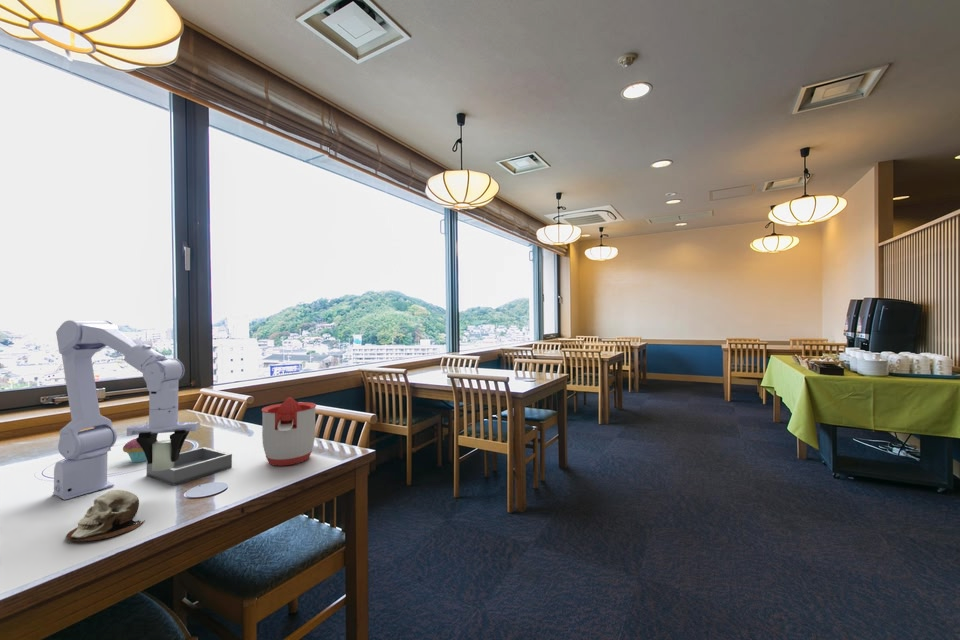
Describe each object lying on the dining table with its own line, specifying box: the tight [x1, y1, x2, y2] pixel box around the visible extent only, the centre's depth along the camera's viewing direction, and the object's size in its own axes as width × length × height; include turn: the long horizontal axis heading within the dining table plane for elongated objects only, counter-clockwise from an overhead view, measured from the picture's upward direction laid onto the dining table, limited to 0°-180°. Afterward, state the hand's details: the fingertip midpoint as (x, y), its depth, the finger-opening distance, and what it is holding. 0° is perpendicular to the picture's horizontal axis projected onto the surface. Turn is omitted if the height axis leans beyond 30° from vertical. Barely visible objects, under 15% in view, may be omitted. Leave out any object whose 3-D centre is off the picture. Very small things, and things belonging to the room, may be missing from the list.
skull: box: [65, 489, 146, 543], centre depth 82 cm, size 12×10×10 cm
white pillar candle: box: [152, 439, 174, 471], centre depth 98 cm, size 4×4×6 cm
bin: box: [146, 446, 233, 486], centre depth 114 cm, size 15×15×4 cm
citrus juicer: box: [261, 396, 317, 467], centre depth 122 cm, size 16×17×20 cm
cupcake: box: [122, 421, 159, 463], centre depth 124 cm, size 9×8×12 cm
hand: (163, 461), depth 98 cm, fingers closed on white pillar candle, 4 cm apart
